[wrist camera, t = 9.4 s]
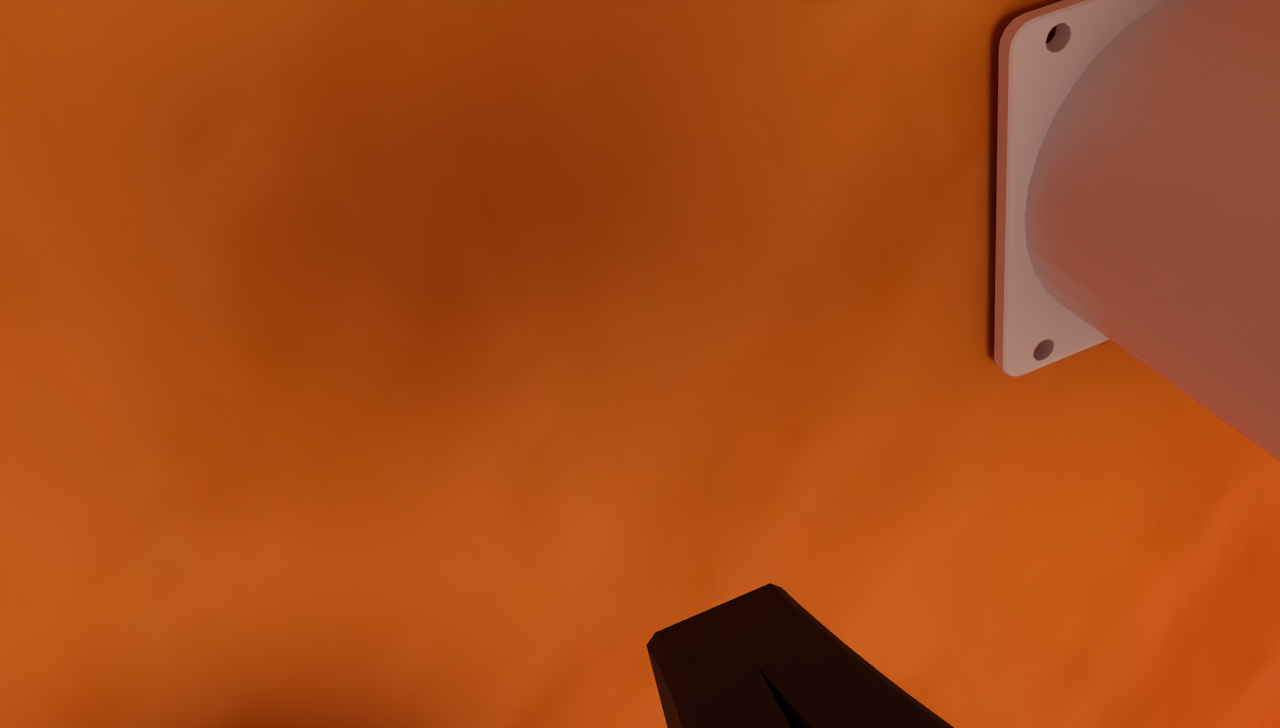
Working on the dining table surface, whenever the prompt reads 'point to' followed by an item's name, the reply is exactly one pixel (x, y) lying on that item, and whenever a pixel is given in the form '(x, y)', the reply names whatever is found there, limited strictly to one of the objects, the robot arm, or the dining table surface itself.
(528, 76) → the dining table surface
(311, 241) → the dining table surface
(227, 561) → the dining table surface
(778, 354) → the dining table surface
